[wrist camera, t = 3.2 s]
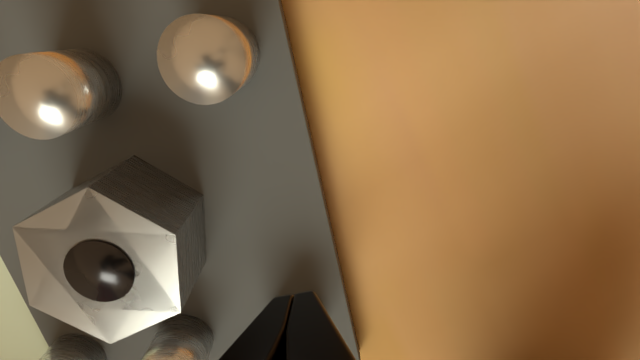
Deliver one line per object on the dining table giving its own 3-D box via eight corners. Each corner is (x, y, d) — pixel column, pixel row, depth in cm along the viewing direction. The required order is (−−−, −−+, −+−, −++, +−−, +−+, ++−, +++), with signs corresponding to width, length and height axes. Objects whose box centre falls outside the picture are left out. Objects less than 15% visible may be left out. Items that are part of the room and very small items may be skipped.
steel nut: (167, 138, 14) (126, 166, 11) (237, 246, 15) (217, 297, 12) (42, 203, 15) (-26, 246, 12) (119, 300, 16) (75, 360, 13)
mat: (266, -63, 13) (262, -70, 12) (359, 351, 18) (361, 369, 17) (-93, 24, 14) (-124, 24, 13) (96, 395, 19) (85, 414, 18)
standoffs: (248, 8, 13) (231, 4, 10) (330, 336, 17) (332, 389, 14) (-93, 87, 13) (-186, 101, 11) (64, 381, 17) (22, 438, 15)
